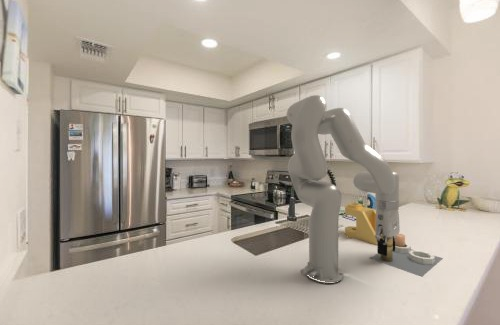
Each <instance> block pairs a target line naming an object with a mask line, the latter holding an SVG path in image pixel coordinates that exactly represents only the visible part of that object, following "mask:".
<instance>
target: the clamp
mask: <svg viewBox="0 0 500 325" xmlns="http://www.w3.org/2000/svg"><path fill="white" fill-rule="evenodd" d="M344 215H347V216H351V217H354V218H355V219H356V220H355V225H353V226H351V225H350V226H345V228H344V235H346V236H345V237H347V236H348V237H347V238H349V237H350V239H354V238H355V239H359V240H361V241H363V242H366V243H370V244H372V245H374V246H377V244H378V243H377V239H376V238H375V235H376V233H375V218H376V208H375V209H374V208H371V207H366V206H363V204H362V203H359V202H348V203H347V205H345V206H344Z"/></svg>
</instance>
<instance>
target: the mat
mask: <svg viewBox="0 0 500 325" xmlns="http://www.w3.org/2000/svg"><path fill="white" fill-rule="evenodd" d="M411 250H413V248H411ZM434 256H435V263H433V264H432V265H429V264H421V263H417V262H414V261H412V260H411V259H410V258H409V253H398V252H395V251H393V261H392V262H386V261H383V260H381V259H380V254H378V253H376V254H374V255H372V256H370V257H369V259H370V260H373V261H376V262H379V263H382V264H385V265H387V266H389V267H393V268H396V269H399V270H402V271H404V272H407V273H410V274H412V275H415V276H419V277H424V276H425V275H426V274H427V273H428V272H430V271H431V269H433V268H434V267H435V266H436V265H437V264H438V263H440V262H441V261H443V259H444V258H443V257H440V256H436V255H434Z"/></svg>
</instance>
